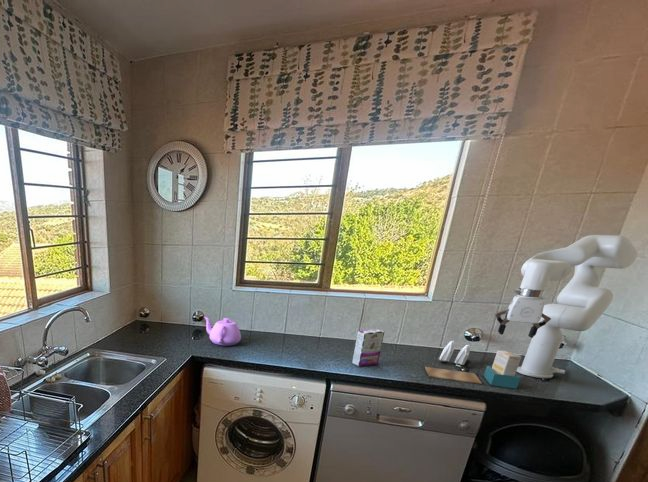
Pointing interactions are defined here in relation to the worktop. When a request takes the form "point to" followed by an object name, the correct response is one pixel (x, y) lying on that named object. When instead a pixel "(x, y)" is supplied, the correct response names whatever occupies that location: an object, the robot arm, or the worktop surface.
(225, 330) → the teapot
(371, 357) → the candy bar box
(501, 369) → the supplement box
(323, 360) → the worktop surface
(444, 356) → the shaker set
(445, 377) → the cork mat
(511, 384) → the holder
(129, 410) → the worktop surface
